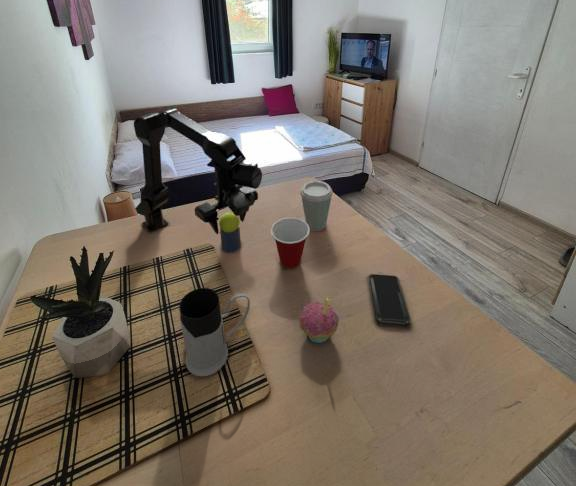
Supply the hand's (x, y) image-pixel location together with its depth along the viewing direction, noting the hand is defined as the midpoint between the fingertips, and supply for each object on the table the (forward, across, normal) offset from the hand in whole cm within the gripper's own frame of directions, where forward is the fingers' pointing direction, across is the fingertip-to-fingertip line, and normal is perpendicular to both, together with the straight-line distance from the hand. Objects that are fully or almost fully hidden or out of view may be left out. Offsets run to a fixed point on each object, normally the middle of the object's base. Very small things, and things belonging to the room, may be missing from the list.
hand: (229, 227), depth 98 cm
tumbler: (+7, 0, 0) cm, 7 cm away
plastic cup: (+7, +8, -18) cm, 21 cm away
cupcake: (+7, -4, -39) cm, 40 cm away
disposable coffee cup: (+7, +27, -11) cm, 30 cm away
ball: (-2, 0, 0) cm, 2 cm away
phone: (+7, +16, -45) cm, 48 cm away
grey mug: (+7, -22, -27) cm, 36 cm away
